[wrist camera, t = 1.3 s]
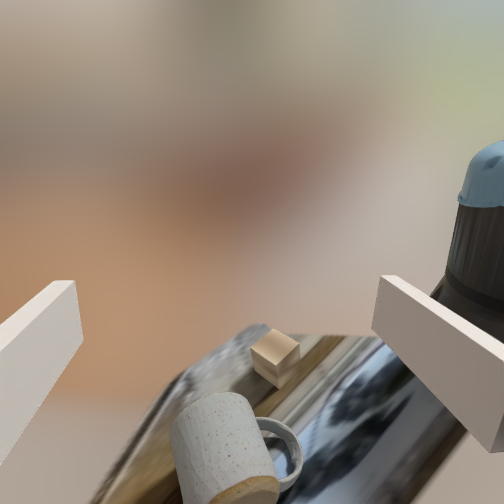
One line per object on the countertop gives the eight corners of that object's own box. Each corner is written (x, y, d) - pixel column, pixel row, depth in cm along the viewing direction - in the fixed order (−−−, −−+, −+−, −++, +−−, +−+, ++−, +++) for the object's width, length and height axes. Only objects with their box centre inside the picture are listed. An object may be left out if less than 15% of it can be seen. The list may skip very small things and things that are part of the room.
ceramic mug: (203, 568, 23) (179, 521, 19) (180, 462, 29) (159, 412, 26) (323, 493, 26) (323, 440, 22) (278, 412, 33) (271, 361, 29)
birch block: (276, 351, 40) (273, 328, 38) (301, 367, 37) (299, 343, 35) (254, 371, 37) (250, 347, 36) (279, 389, 35) (275, 365, 33)
